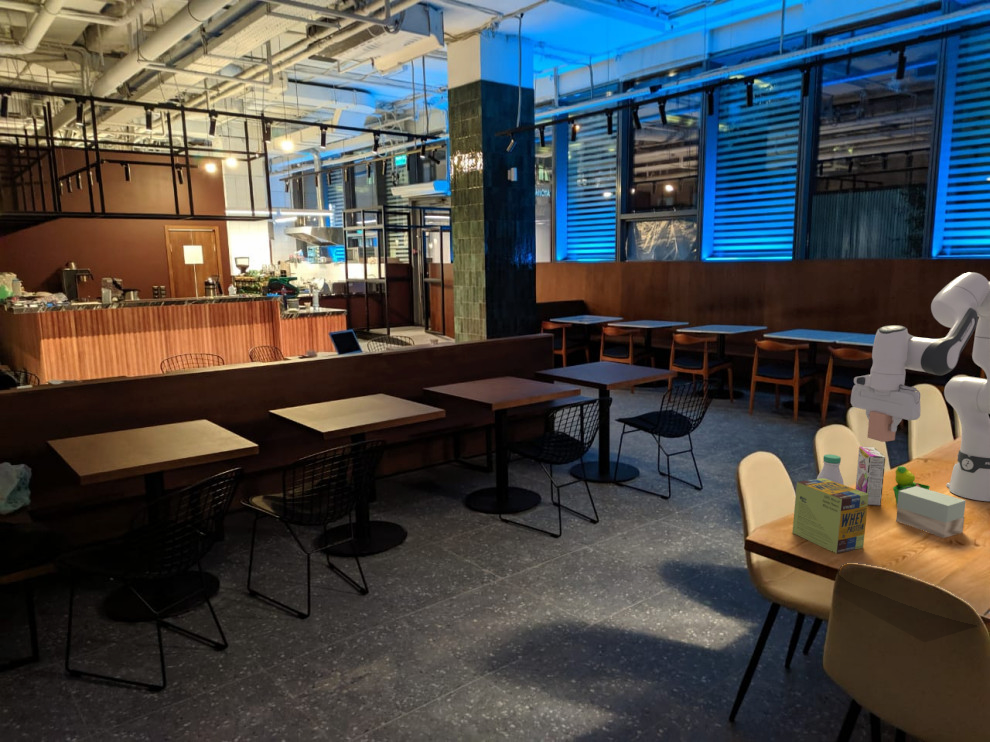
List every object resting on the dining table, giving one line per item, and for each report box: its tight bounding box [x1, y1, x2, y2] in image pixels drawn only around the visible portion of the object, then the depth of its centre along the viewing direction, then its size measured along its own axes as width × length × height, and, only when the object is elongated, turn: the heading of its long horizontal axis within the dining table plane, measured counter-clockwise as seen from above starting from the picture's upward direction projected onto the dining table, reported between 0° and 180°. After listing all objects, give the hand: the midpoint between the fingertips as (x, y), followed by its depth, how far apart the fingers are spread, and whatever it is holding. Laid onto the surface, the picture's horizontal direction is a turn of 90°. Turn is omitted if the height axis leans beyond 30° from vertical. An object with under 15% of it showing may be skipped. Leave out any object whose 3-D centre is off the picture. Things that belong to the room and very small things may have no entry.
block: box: [867, 411, 896, 443], centre depth 202 cm, size 5×5×8 cm
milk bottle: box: [816, 453, 845, 485], centre depth 206 cm, size 8×8×20 cm
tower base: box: [895, 507, 965, 539], centre depth 203 cm, size 9×14×5 cm, turn 26°
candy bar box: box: [855, 446, 886, 507], centre depth 224 cm, size 11×5×16 cm, turn 168°
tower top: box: [896, 486, 967, 523], centre depth 202 cm, size 9×14×5 cm, turn 29°
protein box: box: [791, 478, 869, 554], centre depth 192 cm, size 10×15×16 cm
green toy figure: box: [892, 465, 931, 504], centre depth 223 cm, size 11×9×11 cm
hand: (882, 428), depth 202 cm, fingers closed on block, 5 cm apart
